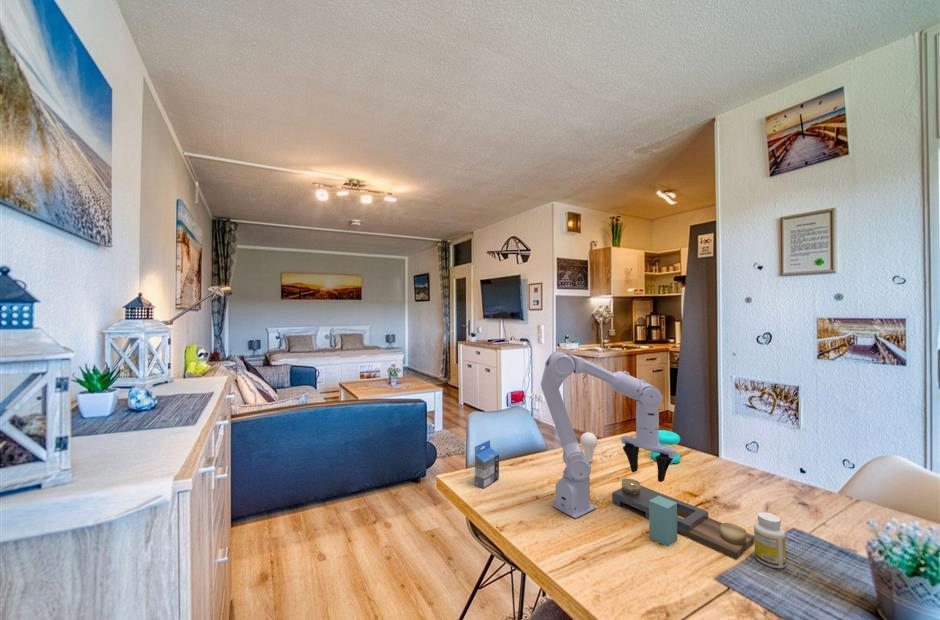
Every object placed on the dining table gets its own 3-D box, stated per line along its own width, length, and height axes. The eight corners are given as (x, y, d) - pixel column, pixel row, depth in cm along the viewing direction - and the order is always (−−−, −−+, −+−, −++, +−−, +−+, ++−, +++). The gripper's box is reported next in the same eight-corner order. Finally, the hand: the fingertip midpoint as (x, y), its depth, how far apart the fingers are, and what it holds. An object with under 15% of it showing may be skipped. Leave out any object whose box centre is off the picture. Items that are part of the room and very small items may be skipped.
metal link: (688, 537, 91) (688, 515, 91) (612, 502, 108) (612, 484, 108) (708, 523, 98) (708, 502, 98) (633, 492, 115) (633, 474, 115)
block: (667, 546, 88) (667, 508, 88) (649, 537, 91) (649, 500, 92) (677, 540, 90) (677, 502, 91) (658, 531, 94) (658, 495, 94)
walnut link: (736, 559, 83) (736, 542, 83) (645, 517, 100) (645, 503, 100) (754, 542, 90) (754, 525, 90) (666, 505, 107) (666, 492, 107)
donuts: (659, 437, 136) (645, 429, 146) (659, 465, 136) (645, 454, 146) (686, 437, 137) (669, 428, 147) (686, 464, 136) (669, 454, 146)
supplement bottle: (771, 553, 86) (771, 510, 86) (792, 569, 80) (792, 523, 80) (748, 553, 85) (748, 510, 86) (768, 569, 80) (767, 523, 80)
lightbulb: (586, 466, 134) (586, 435, 134) (577, 460, 140) (577, 430, 140) (601, 464, 136) (600, 434, 136) (591, 458, 142) (591, 429, 142)
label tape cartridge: (484, 489, 117) (484, 449, 117) (474, 485, 119) (474, 447, 119) (499, 479, 124) (499, 442, 124) (489, 476, 126) (489, 439, 126)
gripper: (681, 430, 101) (681, 481, 101) (630, 418, 112) (630, 464, 112) (668, 435, 97) (668, 488, 96) (617, 422, 108) (617, 469, 108)
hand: (647, 475), depth 104 cm, fingers open, 7 cm apart
